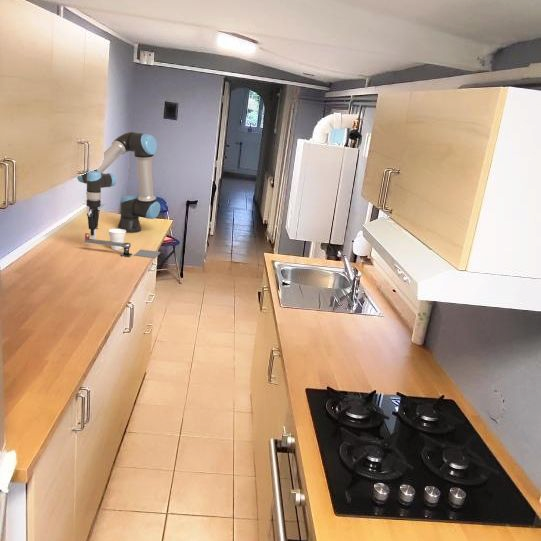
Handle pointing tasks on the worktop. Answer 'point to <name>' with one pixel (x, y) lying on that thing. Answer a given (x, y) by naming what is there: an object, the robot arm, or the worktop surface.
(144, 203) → the robot arm
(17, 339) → the worktop surface
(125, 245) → the lever
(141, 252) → the mat
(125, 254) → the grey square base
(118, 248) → the cup
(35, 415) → the worktop surface
